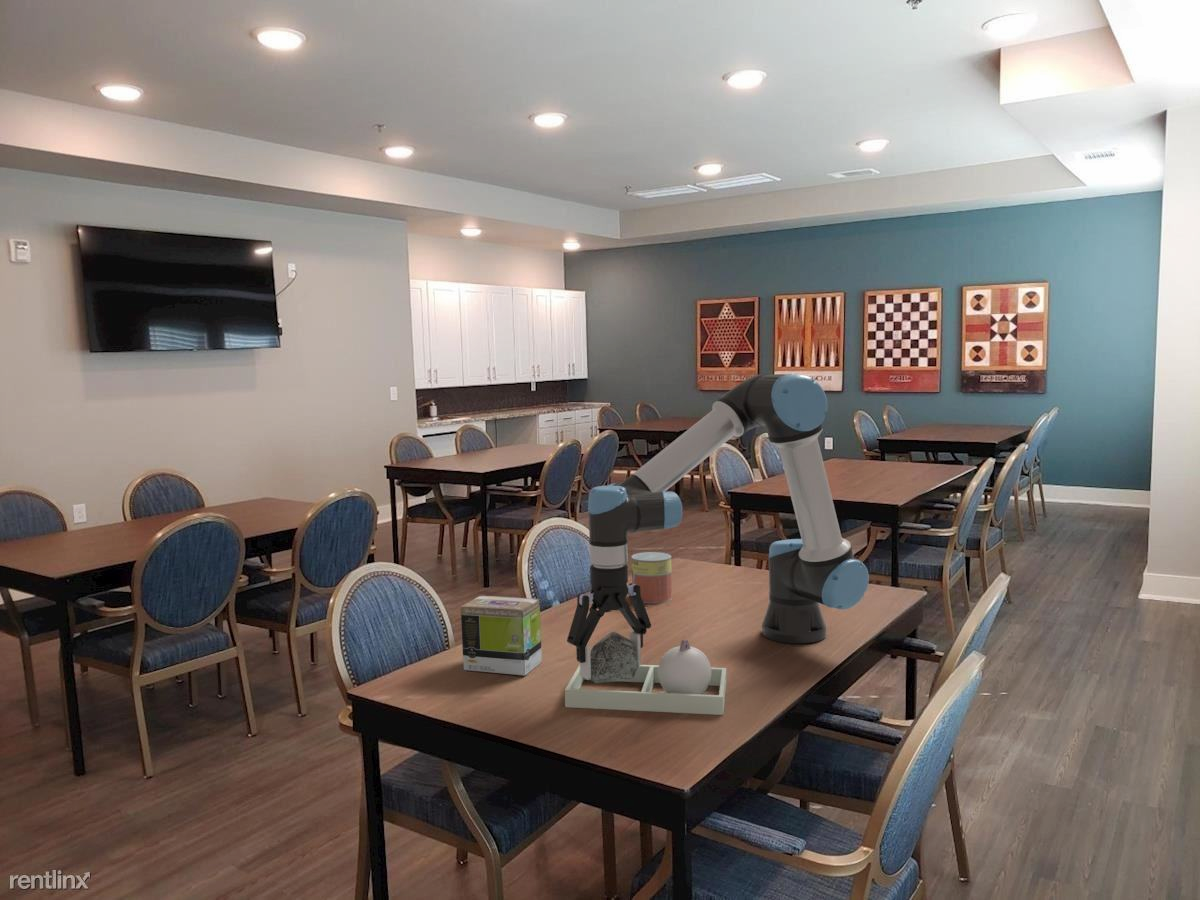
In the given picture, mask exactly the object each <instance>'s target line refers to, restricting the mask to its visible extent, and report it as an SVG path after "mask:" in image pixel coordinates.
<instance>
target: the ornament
mask: <svg viewBox="0 0 1200 900" xmlns="http://www.w3.org/2000/svg"><path fill="white" fill-rule="evenodd" d="M659 662H660V663H659V664H658V665H659V670H658V675H659V680H660V683H659V684H660V686H661V687H662V689H663V690H664V691H665V693H681V694H702V695H704V693H705V692H706V691H707V690H708V687H709V686H710V685H709V683H710V680H711V668H712V667H711V663H710V661H709V659H708V657H707V656H706V654H705V653H704V652H703V651H701V650H700V649H698V648H696V647H694V646H690V643H689V640H688V639H686V638H683V639H681V641H680V645H678V646H675V647H672V648H670V649H668V650H667V651H666V652H665V653H664V655H663V656H662V658H660V661H659Z"/></svg>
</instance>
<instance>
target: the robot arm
mask: <svg viewBox="0 0 1200 900" xmlns="http://www.w3.org/2000/svg"><path fill="white" fill-rule="evenodd" d="M711 407H712V408H711V409H712V410H710V411H709V412H708V413H707V414H706V415H705V416H703V417H702V418H701V419H699V420H698V421H697V422H696V423H695V424H693V425H692V426H690V427H689V429H687V430H686V431H684V432H683V433H682V434H680V435H679V436H678V437H677V438H676V439H675V440H673V441H672V442H671V443H669V445H667V446H666V447H664V448H663V449H662V450H661V451H660V452H658V453H657V454H655V456H653V457H652V458H651V459H650V460H648V461H647V462H646V463H645V464H643V465H642V466H641V467H640V468H638V469H637V470H636V471H634V472H633V473H631V475H629V476H628V477H627V478H626V479H624V480H623V481H622V482H613V483H609V484H608V485H600V486H599V485H597V486H595V487H592V488H591V489H590V490H589V493H588V502H587V503H588V504H587V505H588V506H587V507H588V508H587V513H588V532H589V533H588V534H589V541H588V542H589V563H590V564H591V565H590V566H589V582H590V585H591V590H590V593H585V594H583V593H578V594H577V600H576V601H577V602H576V603H577V605H576V609H575V613H574V615H573V618H572V622H571V625H570V629H569V632H568V636H567V639H566V642H567V643H568V644H570V645H572V646H575V647H576V661H577V662H578V663H579V665H580V676H582V677H583V678H585V679H587V680H586V681H590V680H589V679H591V659H590V653H591V646H590V645H588V643H589V641H590V639H591V637H592V635H593V633H594V631H595V630H596V627H597V626H598V624H599V622H600V619H601V618H602V617H603V616H605V613H609V612H612V611H619V612H620V613H621V614H622V616H623V618H624V619H625V620H626V622H627V623H628V625H629V627H631V629H632V631H629V640H630V641H631V642H632V643H633V646H634V648H635V650H636V652H637V655H636V656H637V658H638V665H639V666H641V665H642V655H641V653H642V652H641V648H643V647H644V635H645V634H646V633H647V629H651V627H652V624H651V623H652V622H651V619H650V617H649V615H648V613H647V610H646V607H645V603H643V601H642V598H641V592H640V586H639V585H636V584H633V583H632V582H630V583H628V582H629V567H628V565H627V563H628V562H629V560H628V559H629V558H628V556H629V554H628V553H629V552H628V534H629V533H636V532H646V531H656V530H657V531H659V530H664V531H665V530H666V529H671V528H675V527H678V526H679V525H680V523H681V522H682V519H683V504H682V501H681V498H680V496H679V495H678V494H677V493H676V492H675V491H668V490H669V489H670V488H671V487H673V486H674V485H676V484H677V483H678V482H679V481H681V479H682V478H683V477H685V476H686V475H688V474H689V473H690V472H691V471H692V470H694V469H695V468H696V467H697V466H698V465H700V464H701V463H702V462H704V460H706V459H707V458H708V457H710V456H711V455H712V454H713V453H715V452H716V451H717V450H718V449H720V448H721V447H722V446H723V445H724V444H726V443H727V442H728V441H729V440H731V438H733V437H735V438H738V437H739V438H740V437H741V436H743V435H744V434H745V433H747V432H748V431H749V430H752V429H754V428H759V427H765V429H766V433H767V437H768V441H769V443H770V444H772V445H774V446H776V447H777V448H778V451H779V454H780V458H781V459H780V460H781V464H782V466H783V467H782V468H783V471H784V475H785V479H786V482H787V487H788V490H789V494H790V495H789V496H790V500H791V502H792V506H793V511H794V514H795V519H796V522H797V526H798V527H797V528H798V530H799V534H800V538H791V539H790V538H789V539H782V540H777V541H774V542H772V543H771V544H770V545H769V548H768V549H769V551H768V557H767V558H768V579H769V580H768V589H769V591H768V594H769V600H768V604H767V608H766V611H765V614H764V617H763V621H762V623H761V634H762V636H764V637H765V638H767V639H770V640H772V641H775V642H778V643H779V642H780V643H786V644H811V643H816V642H819V641H820V642H821V641H822V640H824V639H826V637H827V625H826V622H825V619H824V617H823V613H822V610H821V607H820V606H821V605H823V606H826V607H827V608H831V609H837V610H849V609H851V608H853V607H854V606H856V605H858V604H859V603H860V601H861V600H862V599H863V598H864V596H865V593H866V592H867V590H868V587H869V582H870V575H869V570H868V568H867V566H866V565H865V564H864V563H863V562H862V561H861V560H860V559H856V558H855V557H854V552H853V549H852V546H851V545H852V544H851V542H850V541H849V540H847V539H846V538H843V537H842V534H841V533H842V532H841V529H840V524H839V521H838V517H837V513H836V508H835V504H834V501H833V496H832V492H831V489H830V485H829V484H830V483H829V479H828V475H827V471H826V468H825V464H824V459H823V456H822V455H823V454H822V451H821V448H820V447H821V446H820V444H819V443H820V442H819V439H818V437H820V435H821V433H822V432H823V430H824V429H823V426H822V423H823V422H824V420H825V418H826V415H825V414H826V413H827V412H828V398H827V395H826V393H825V390H824V389H823V386H821V385H820V384H819V382H818V381H816V379H814V378H812V377H809V376H807V375H803V374H802V375H801V374H799V373H798V374H797V373H785V374H784V373H783V374H779V373H778V374H774V373H773V374H769V373H765V374H764V373H762V374H761V373H759V374H756V375H753V376H750V377H749V378H746V379H745V380H743V381H742V382H740V383H739V384H737V385H736V386H734V387H732V388H730V390H728V391H727V392H725V394H723V395H722V396H721V397H720V398H718V399H717V400H716V401H715V402H714V403H713V404H712V406H711ZM627 584H628V585H627ZM627 595H628V596H629V599H630V603H631V605H632V608H633V610H634V612H633V611H632V609H631V607H630V604H629V603H628V602H627V600H626V598H627ZM820 604H821V605H820Z"/></svg>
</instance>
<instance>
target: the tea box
mask: <svg viewBox="0 0 1200 900" xmlns="http://www.w3.org/2000/svg"><path fill="white" fill-rule="evenodd" d="M540 603H541V602H540V598H535V597H534V598H528V597H513V596H512V597H510V596H492V595H479V596H477V597H476V598H473V599H472V600H469V601H468V602H466V603H464V604H463V605H461V606H460V622H461V623H460V624H461V625H460V626H461V644H462V661H463V662H462V663H463V664H462V665H463V670H464V671H470V672H471V671H472V672H482V673H491V674H492V673H493V674H504V675H512V676H513V675H514V676H515V675H516V676H525V677H526V675H528V674H529V673H531V672H532V671H533V670H534V669H535V668H537V667H538V666H539V665H540V664H541V663H542V661H543V660H542V659H543V657H542V655H543V654H542V653H543V652H542V628H541V606H540Z"/></svg>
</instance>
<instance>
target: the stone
mask: <svg viewBox="0 0 1200 900" xmlns="http://www.w3.org/2000/svg"><path fill="white" fill-rule="evenodd" d="M636 655H637V652H636V650H635V648H634V646H633V643H632V642H631V641H630V638H627V637H625V636H623V635H621V634H620V633H619V632H617V631H610V632H608V634H606V635H605V636H603V638H601V639H600V640H598V641H597V642H596V643H595V644H594V645H593V646H592V648H591V649H590V659H591V679H590V680H589V681H591V682H593V683H594V684H601V683H612V682H613V683H614V682H620V681H624V680H627V679H630V678H633V677H634V676H635V672H636V670H637V668H638V666H639V665H638V658H637V656H636Z"/></svg>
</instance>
